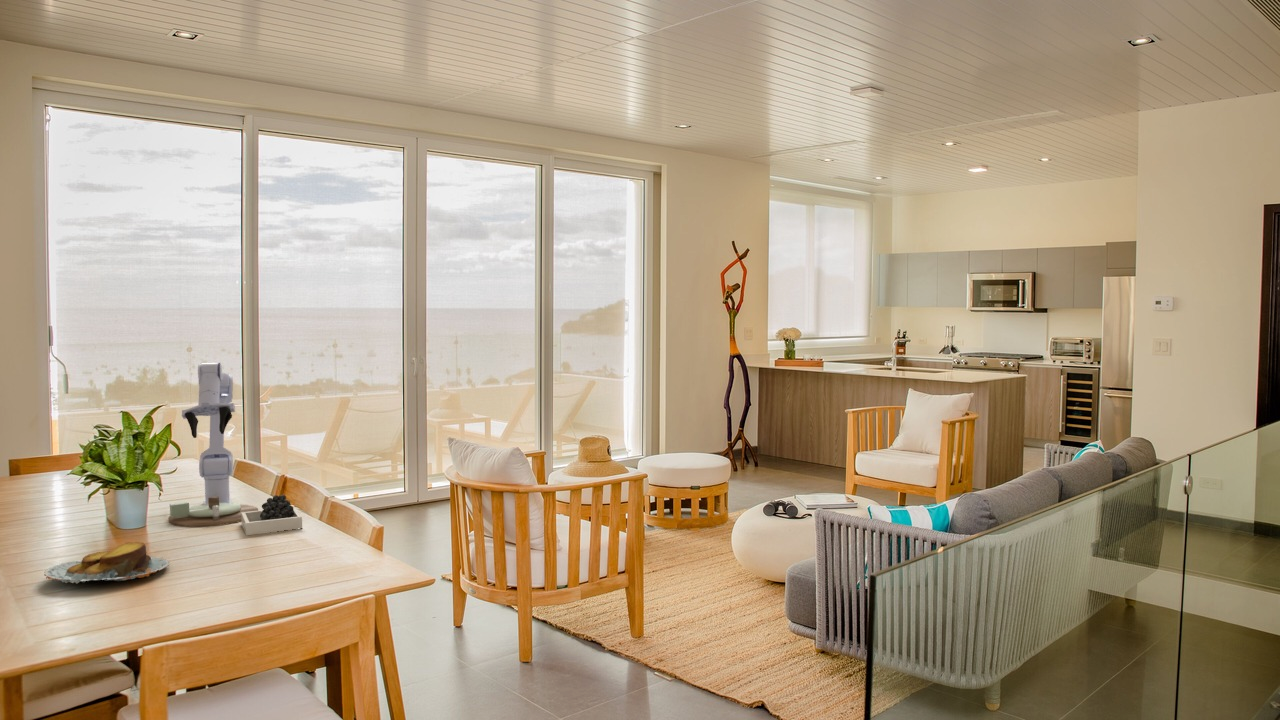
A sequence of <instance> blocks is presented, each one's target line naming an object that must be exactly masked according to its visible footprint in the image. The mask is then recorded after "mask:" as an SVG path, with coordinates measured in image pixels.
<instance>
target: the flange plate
mask: <svg viewBox="0 0 1280 720" xmlns="http://www.w3.org/2000/svg"><path fill="white" fill-rule="evenodd" d="M241 505H242V504H240V503H238V502H237V503H235V502H231V503H219V516H221V515H227V514H232V513H235V512H238V511H240V510H241ZM169 516H170V517H171V518H175V517H182V516H193V517H213V509H212V508H209V504H204V503H203V504H199V505H194V506H192V507H190V503H189V502H188V501H182V502H175V503H170V504H169Z"/></svg>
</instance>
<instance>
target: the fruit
mask: <svg viewBox="0 0 1280 720" xmlns="http://www.w3.org/2000/svg"><path fill="white" fill-rule="evenodd" d="M293 507H294V506H293V505H291V501H290V500H289V499H287V495H286V494H281V495H277V494H276V495H273V497H268V498H267V499H266V501H265V502H264V503H262V505H261V508H262V510H263V511H262V512H261V514H260V518H262V519H261V520H260V521H263V520H272V519H281V518H290V517H292V516H293V514H294V513H293V512H292V511H293Z"/></svg>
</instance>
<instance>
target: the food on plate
mask: <svg viewBox="0 0 1280 720" xmlns="http://www.w3.org/2000/svg"><path fill="white" fill-rule="evenodd" d="M147 553H148V552H147V546H146V544H145V543H144V542H140V541H127V542H125V543H122V544H121V545H119V546H117V547H116V548H114V549H112V550H108V551H97V552H93V553H89V554H87V555H85V556H84V557H82V559H80V560H72V561H67V562H66V561H65V562H62V563H59V564H55V565H53V566H50V567H48V568H47V569H46V570H45V571H44V574H43V576H45V579H48V580H52V581H54V580H55V581H61V583H65V584H68V583H72V584H79V583H80V582H82V583H85V582H86V581H87V582H89V581H101V580H102V581H103V580H104V581H113V582H115V581H116V582H121V581H127V580H134V579H137V578H139V579H140V578H145V577H146V578H147V577H150V575H151V574H154V573H157V571H159V572H160V571H161V570H164V569H167V567H169V565H170V561H168V560H166V559H164V558H163V557H157V556H150V555H149V554H147ZM148 569H150V570H151V571H148V572H147V570H148Z"/></svg>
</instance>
